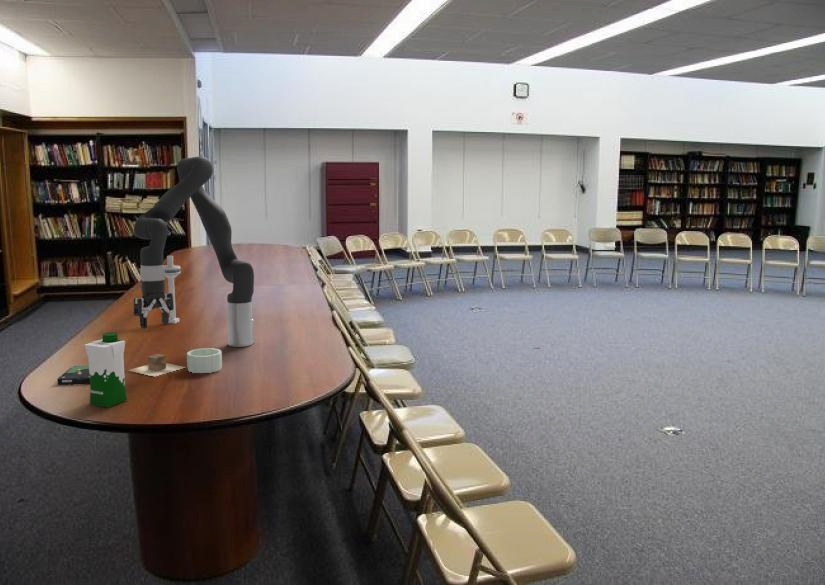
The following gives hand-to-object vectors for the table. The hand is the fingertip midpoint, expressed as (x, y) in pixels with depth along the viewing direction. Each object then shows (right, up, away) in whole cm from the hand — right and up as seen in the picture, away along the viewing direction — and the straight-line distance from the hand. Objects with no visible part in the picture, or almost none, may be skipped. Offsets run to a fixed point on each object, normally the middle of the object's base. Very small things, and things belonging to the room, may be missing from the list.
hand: (154, 325), depth 224 cm
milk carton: (-2, -21, -30) cm, 37 cm away
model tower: (-21, -2, +75) cm, 78 cm away
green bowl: (+16, -15, +4) cm, 22 cm away
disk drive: (-21, -17, -7) cm, 28 cm away
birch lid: (0, -16, +3) cm, 16 cm away
